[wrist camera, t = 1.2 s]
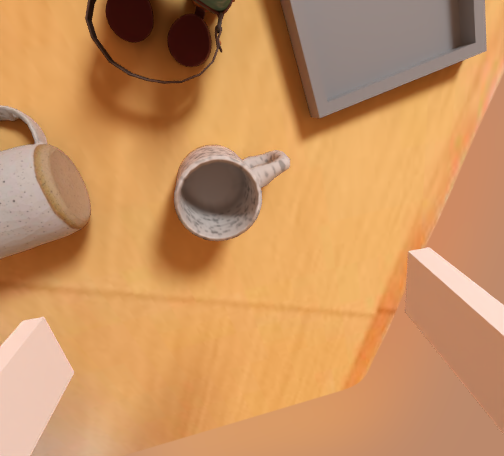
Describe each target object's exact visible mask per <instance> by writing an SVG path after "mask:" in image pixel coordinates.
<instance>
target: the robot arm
mask: <svg viewBox="0 0 504 456" xmlns="http://www.w3.org/2000/svg"><path fill="white" fill-rule="evenodd" d="M405 313H406V314H407V315H408V316H409V318H410V319H411V320H412V321H413V323H414V324H415V325H416V326H417V328H418V329H419V330H420V331H421V332H422V334H423V335H424V336H425V337H426V339H427V340H428V341H429V342H430V344H431V345H432V346H433V347H434V349H435V350H436V351H437V352H438V354H439V355H440V356H441V357H442V359H443V360H444V361H445V362H446V363H447V365H448V366H449V367H450V368H451V370H452V371H453V372H454V373H455V374H456V376H457V377H458V378H459V380H460V381H461V382H462V383H463V385H465V387H466V388H467V389H468V391H469V392H470V393H471V394H472V396H473V397H474V398H475V399H476V401H477V402H478V403H479V404H480V406H481V407H482V408H483V409H484V411H486V413H487V414H488V415H489V417H490V418H491V419H492V420H493V422H494V423H495V424H496V425H497V427H498V428H499V429H500V430H501V432H502V433H503V434H504V305H503V304H501V303H500V302H499V301H498V300H496V299H495V298H494V297H492V296H491V295H490V294H489V293H487V292H486V291H485V290H483V289H482V288H481V287H480V286H478V285H477V284H476V283H474V282H473V281H471V279H469V278H468V277H467V276H465V275H464V274H463V273H462V272H460V271H459V270H457V269H456V268H455V267H454V266H453V265H451V264H450V263H449V262H447V261H446V260H445V259H443V258H442V257H441V256H439V255H438V254H437V253H436V252H434V251H433V250H432V249H431V248H423V249H418V250H412V251H408V264H407V282H406V301H405ZM73 374H74V371H73V369H72V367H71V365H70V363H69V361H68V360H67V358H66V356H65V354H64V352H63V350H62V349H61V347H60V345H59V343H58V341H57V340H56V338H55V336H54V334H53V332H52V330H51V329H50V327H49V325H48V323H47V321H46V319H45V318H44V317H41V318H35V319H30V320H24V321H22V322H21V323H20V324H19V326H18V327H17V328H16V329H15V330H14V331H13V332H12V334H11V335H10V336H9V337H8V338H7V339H6V341H5V342H4V343H3V344H2V345H1V346H0V456H31V454H32V452H33V450H34V448H35V446H36V444H37V442H38V441H39V439H40V437H41V435H42V433H43V431H44V429H45V427H46V425H47V423H48V422H49V420H50V418H51V416H52V414H53V412H54V410H55V408H56V406H57V404H58V403H59V401H60V399H61V397H62V395H63V393H64V391H65V389H66V387H67V385H68V384H69V382H70V380H71V378H72V376H73Z"/></svg>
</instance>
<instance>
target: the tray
mask: <svg viewBox="0 0 504 456" xmlns="http://www.w3.org/2000/svg"><path fill="white" fill-rule="evenodd" d="M280 2H281V6H282V9H283V13H284V17H285V21H286V24H287V28H288V32H289V36H290V40H291V43H292V47H293V51H294V55H295V59H296V62H297V66H298V70H299V74H300V77H301V81H302V85H303V89H304V93H305V96H306V100H307V104H308V108H309V111H310V115H311V117H314V118H322V117H324V116H327V115H329V114H332V113H334V112H337V111H339V110H342V109H344V108H347V107H349V106H351V105H354V104H356V103H359V102H361V101H364V100H366V99H369V98H371V97H374V96H376V95H379V94H381V93H384V92H386V91H389V90H391V89H393V88H396V87H398V86H401V85H403V84H406V83H408V82H411V81H413V80H416V79H418V78H421V77H423V76H426V75H428V74H431V73H433V72H435V71H438V70H440V69H443V68H445V67H448V66H450V65H453V64H455V63H458V62H460V61H463V60H465V59H468V58H470V57H473V56H475V55H478V54H480V53H482V52H485V51H486V22H485V0H280Z"/></svg>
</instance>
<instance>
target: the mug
mask: <svg viewBox="0 0 504 456" xmlns="http://www.w3.org/2000/svg"><path fill="white" fill-rule="evenodd" d="M289 167H290V159H289V157H288V156H287V155H286V154H285V153H283V152H282V151H278V150H275V151H270V152H267V153H265V154H261V155H258V156H251V157H247V158H245V159H243V160H241V158H240V157H239V156H238V155H237V154H236V153H234V152H233V151H232V150H230V149H228V148H226V147H223V146H219V145H206V146H202V147H199V148H197V149H195V150H194V151H192V152H190V153H189V154H188V155H187V156H186V157H185V158H184V160H183V161H182V163H181V165H180V167H179V170H178V175H177V181H176V186H175V192H174V205H175V210H176V213H177V215H178V218H179V220H180V221H181V222H182V224H183V225H184V226H185V228H186V229H188V230H189V231H190V232H191V233H192V234H194V235H196V236H198V237H200V238H203V239H206V240H210V241H223V240H229V239H232V238H235V237H237V236H239V235H241V234H242V233H244V232H245V231H247V230H248V229H249V228H250V227H251V226H252V225H253V223H254V222H255V220H256V219H257V217H258V215H259V212H260V209H261V204H262V191H261V188H262V187H264V186H266V185H267V184H268V183H270V182H271V181H272V180H273V179H274V178H275V177H277V176H278V175H279V174H281V173H282V172H284V171H286V170H287V169H288V168H289Z"/></svg>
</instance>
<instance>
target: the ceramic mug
mask: <svg viewBox="0 0 504 456" xmlns="http://www.w3.org/2000/svg"><path fill="white" fill-rule="evenodd" d="M17 119H22V120H23V121H24V122H25V123H26V124H27V125H28V127H29V129H30V131H31V133H32V136H33V138H34V140H35V144H34V145H24V146H19V147H15V148H11V149H8V150H4V151H0V259H2V258H5V257H7V256H10V255H13V254H16V253H19V252H22V251H25V250H28V249H31V248H34V247H36V246H39V245H42V244H45V243H48V242H51V241H54V240H57V239H60V238H63V237H66V236H68V235H70V234H72V233H74V232H76V231H78V230H80V229H82V228H83V227H84V226H85V225H86V224H87V223H88V220H89V218H90V215H91V205H90V199H89V195H88V192H87V189H86V186H85V184H84V181H83V179H82V177H81V175H80V173H79V171H78V170H77V168H76V167H75V165H74V163H73V162H72V161H71V160H70V158H69V157H68V156H67V155H66V154H65V153H64V152H62V151H61V150H59V149H58V148H56V147H54V146H52V145H48V144H47V140H46V137H45V135H44V133H43V131H42V130H41V128H40V127H39V125H38V124H37V123H36V122H35V121H34V120H33V119H31V118H30V117H29V116H27V115H26V114H24V113H22V112H21V111H19V110H17V109H14V108H11V107H8V106H1V105H0V121H1V120H10V121H14V120H17Z"/></svg>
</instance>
